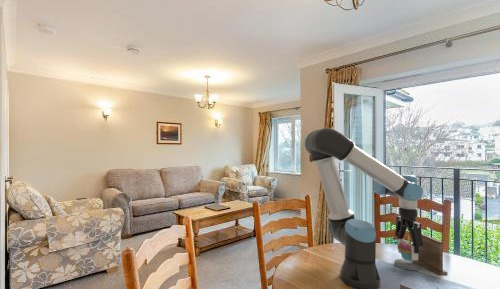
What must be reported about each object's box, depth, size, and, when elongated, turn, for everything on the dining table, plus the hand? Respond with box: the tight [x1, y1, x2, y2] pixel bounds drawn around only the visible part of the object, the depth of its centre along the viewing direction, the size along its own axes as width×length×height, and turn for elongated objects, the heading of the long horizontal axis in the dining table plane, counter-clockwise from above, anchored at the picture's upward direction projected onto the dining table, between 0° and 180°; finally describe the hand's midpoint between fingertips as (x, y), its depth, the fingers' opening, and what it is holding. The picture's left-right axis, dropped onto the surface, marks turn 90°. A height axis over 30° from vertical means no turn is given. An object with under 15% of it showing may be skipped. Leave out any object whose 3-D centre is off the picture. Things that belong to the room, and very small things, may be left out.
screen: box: [413, 233, 448, 276], centre depth 122 cm, size 5×17×14 cm, turn 6°
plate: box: [394, 258, 423, 272], centre depth 122 cm, size 11×11×1 cm
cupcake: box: [397, 233, 413, 261], centre depth 123 cm, size 9×8×12 cm
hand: (407, 256), depth 122 cm, fingers closed on cupcake, 8 cm apart
